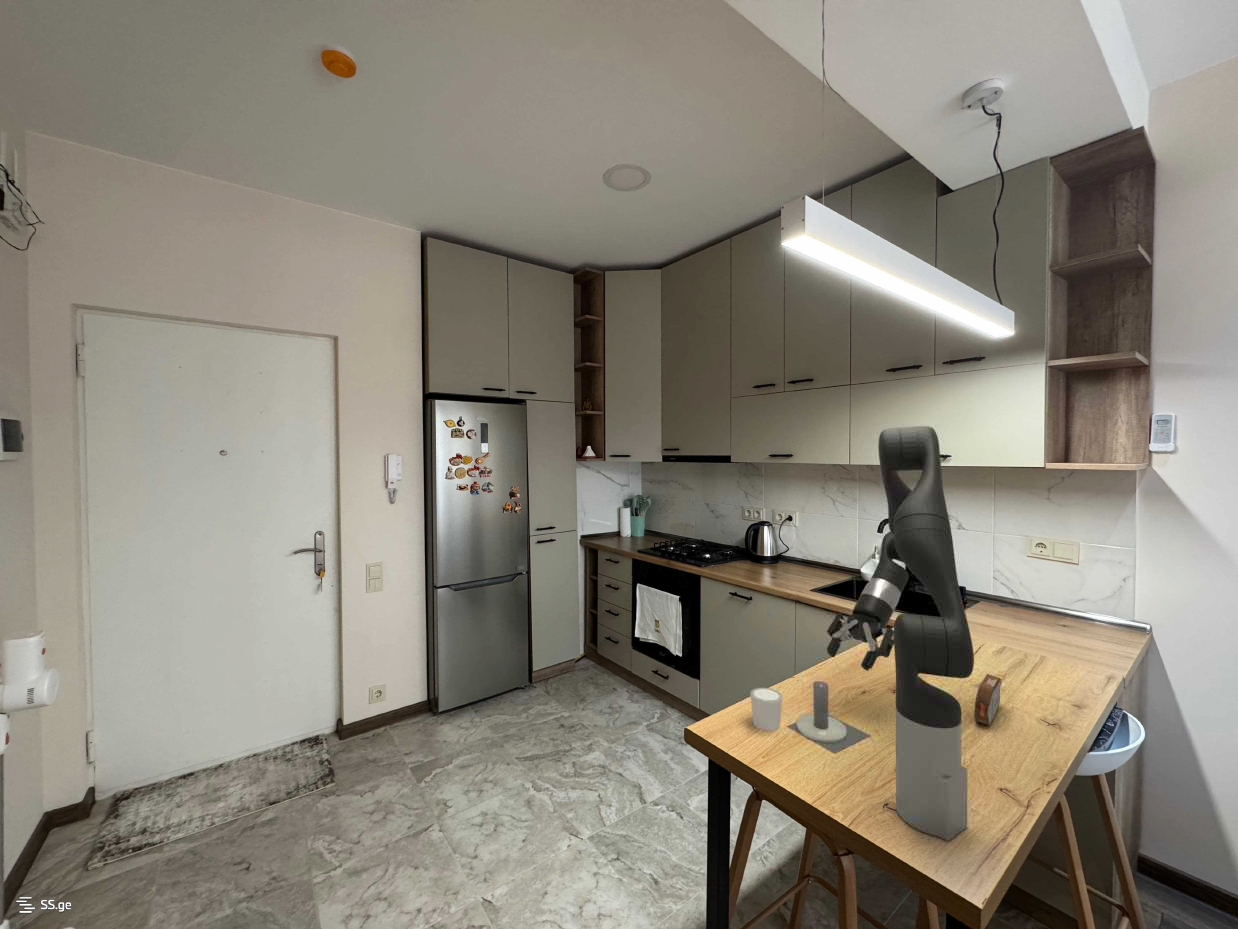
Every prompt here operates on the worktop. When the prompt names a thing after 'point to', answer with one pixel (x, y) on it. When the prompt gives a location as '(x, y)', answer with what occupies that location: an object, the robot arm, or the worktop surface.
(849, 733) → the mat
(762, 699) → the light grey cylinder
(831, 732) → the peg on round base
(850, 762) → the worktop surface
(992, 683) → the tin
